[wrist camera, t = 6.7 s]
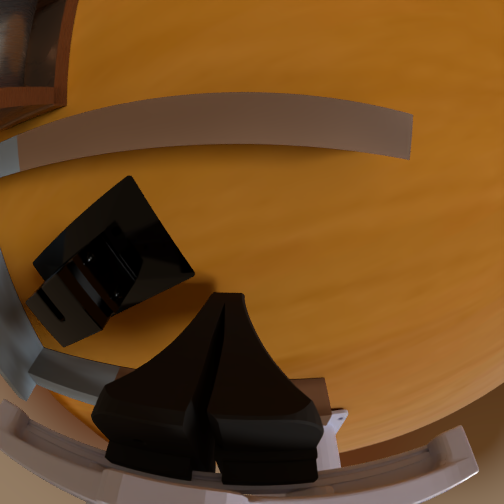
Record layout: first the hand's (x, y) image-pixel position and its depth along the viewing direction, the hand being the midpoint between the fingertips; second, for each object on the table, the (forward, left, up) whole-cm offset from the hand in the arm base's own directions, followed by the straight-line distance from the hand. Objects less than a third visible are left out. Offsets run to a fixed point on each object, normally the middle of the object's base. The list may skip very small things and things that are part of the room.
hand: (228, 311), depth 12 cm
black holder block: (+1, +7, -2) cm, 7 cm away
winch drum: (+14, +10, -1) cm, 18 cm away
